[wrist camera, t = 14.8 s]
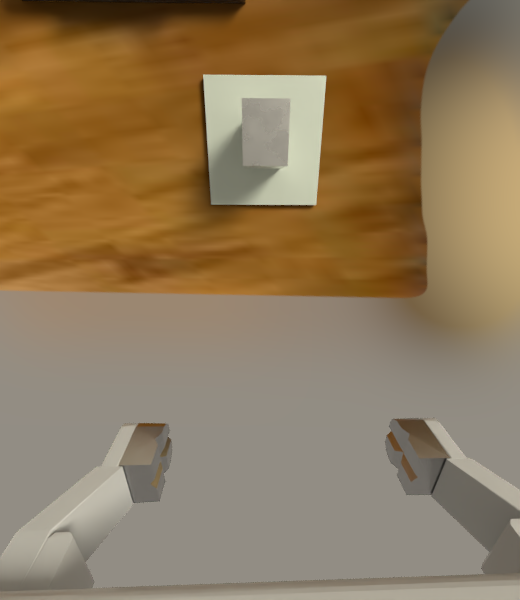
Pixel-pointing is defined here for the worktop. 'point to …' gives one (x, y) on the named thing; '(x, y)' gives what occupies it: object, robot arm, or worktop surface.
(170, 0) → the hand plane
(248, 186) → the cutting board
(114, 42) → the worktop surface
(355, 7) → the worktop surface
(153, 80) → the worktop surface
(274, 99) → the grey rectangular block
